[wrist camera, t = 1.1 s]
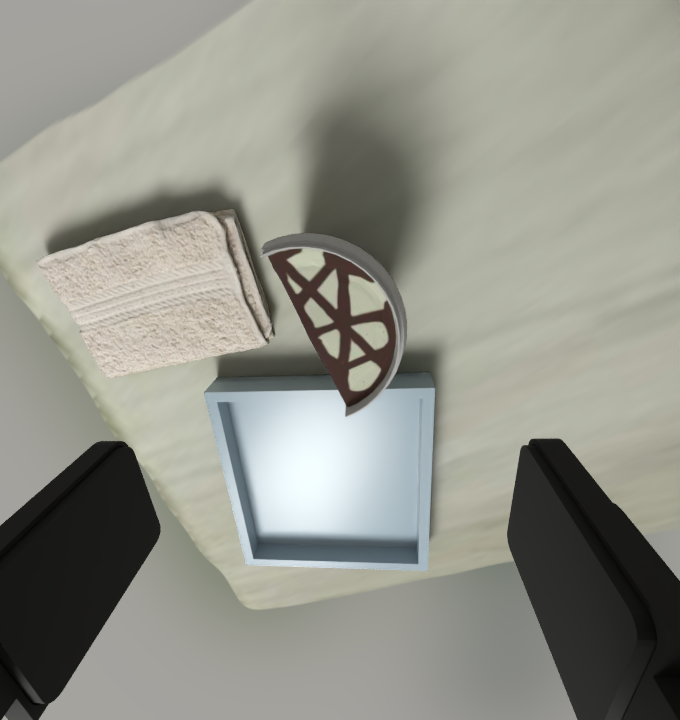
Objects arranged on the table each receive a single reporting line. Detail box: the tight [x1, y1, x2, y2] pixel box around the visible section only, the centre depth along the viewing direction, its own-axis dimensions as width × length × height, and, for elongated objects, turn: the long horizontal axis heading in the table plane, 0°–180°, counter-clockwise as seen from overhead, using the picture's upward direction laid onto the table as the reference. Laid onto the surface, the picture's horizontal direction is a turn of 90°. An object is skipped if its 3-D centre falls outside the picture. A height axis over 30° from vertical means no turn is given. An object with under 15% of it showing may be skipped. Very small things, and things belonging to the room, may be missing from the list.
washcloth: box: [36, 209, 275, 378], centre depth 31 cm, size 12×18×3 cm, turn 105°
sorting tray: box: [204, 372, 435, 571], centre depth 37 cm, size 20×22×3 cm
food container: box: [260, 233, 407, 417], centre depth 26 cm, size 12×6×10 cm, turn 25°
